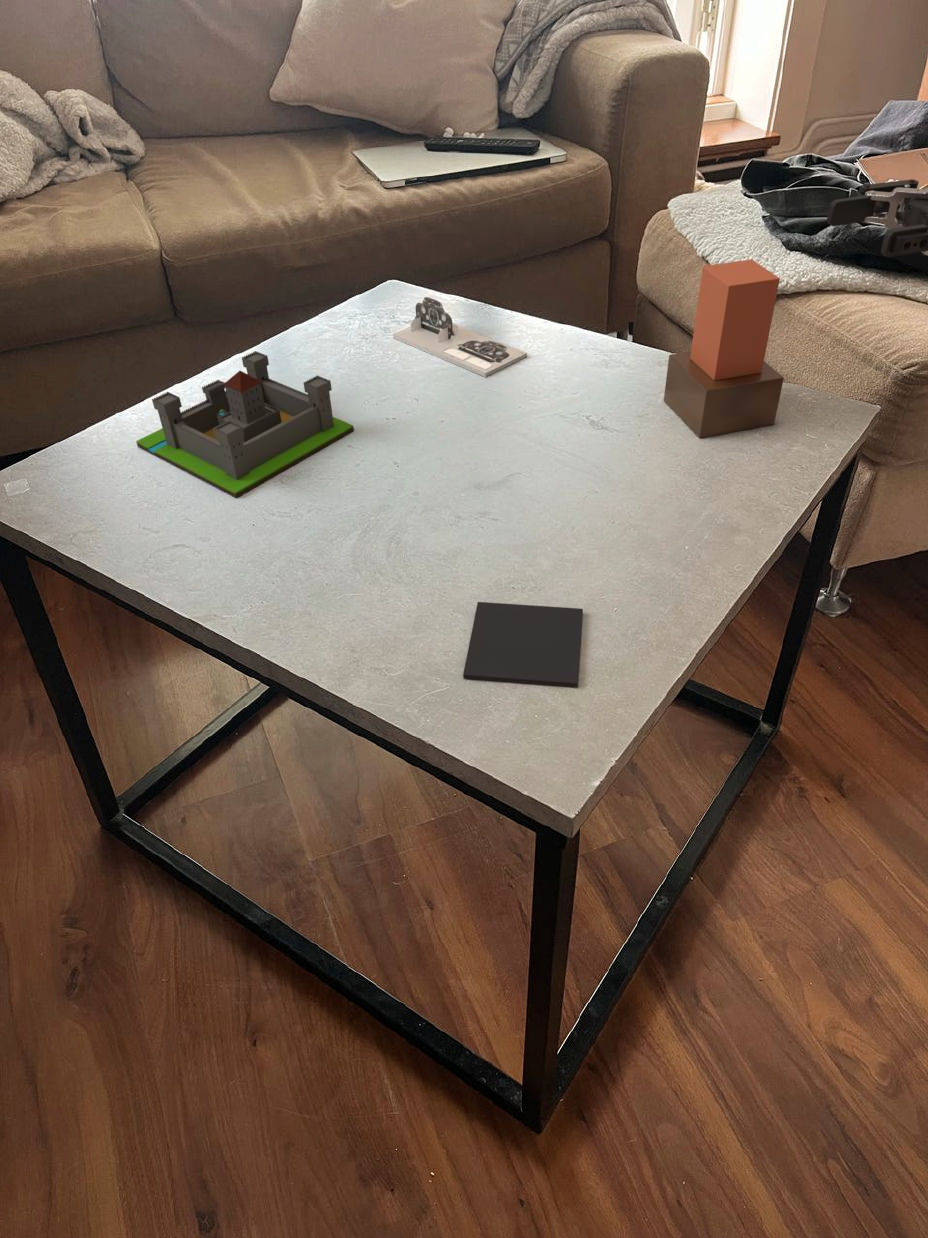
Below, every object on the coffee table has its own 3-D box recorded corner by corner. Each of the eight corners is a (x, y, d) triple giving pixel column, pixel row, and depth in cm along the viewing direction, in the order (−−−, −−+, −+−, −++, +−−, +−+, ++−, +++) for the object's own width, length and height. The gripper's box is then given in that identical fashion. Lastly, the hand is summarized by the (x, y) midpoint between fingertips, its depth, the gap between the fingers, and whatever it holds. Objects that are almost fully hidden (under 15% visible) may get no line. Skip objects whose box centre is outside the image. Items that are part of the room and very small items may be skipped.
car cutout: (393, 337, 108) (390, 299, 105) (434, 320, 111) (432, 282, 108) (485, 377, 100) (484, 337, 97) (526, 356, 103) (527, 317, 100)
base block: (734, 388, 96) (742, 342, 93) (774, 424, 90) (784, 377, 87) (663, 400, 94) (668, 354, 91) (699, 438, 89) (706, 390, 85)
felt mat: (582, 612, 70) (582, 608, 70) (577, 687, 64) (577, 683, 64) (477, 605, 71) (477, 601, 71) (463, 678, 65) (463, 674, 65)
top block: (735, 350, 91) (751, 258, 85) (761, 372, 88) (780, 278, 82) (689, 358, 90) (702, 265, 84) (713, 380, 87) (728, 285, 81)
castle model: (236, 497, 83) (219, 424, 78) (137, 446, 91) (116, 376, 86) (354, 430, 92) (345, 360, 87) (254, 388, 99) (241, 321, 94)
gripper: (971, 142, 89) (822, 162, 86) (1084, 185, 79) (918, 209, 76) (947, 222, 94) (805, 244, 91) (1050, 272, 84) (893, 298, 81)
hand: (856, 228), depth 84 cm, fingers open, 8 cm apart
